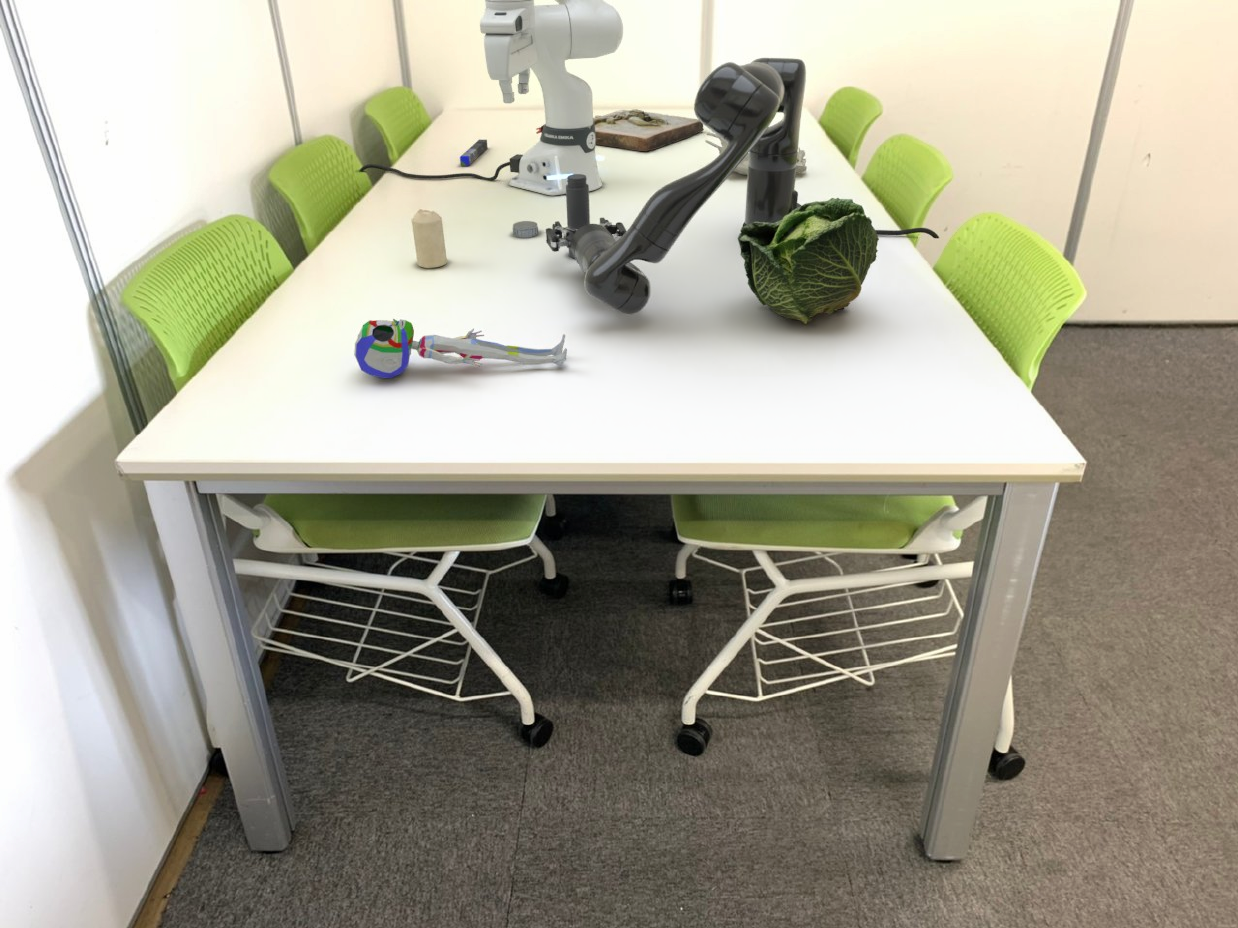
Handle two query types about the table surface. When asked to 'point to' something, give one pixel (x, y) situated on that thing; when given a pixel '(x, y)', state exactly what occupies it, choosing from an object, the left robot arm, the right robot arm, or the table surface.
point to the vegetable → (810, 258)
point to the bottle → (577, 202)
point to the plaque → (643, 129)
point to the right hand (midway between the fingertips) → (579, 224)
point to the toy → (435, 349)
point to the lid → (525, 229)
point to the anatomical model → (743, 165)
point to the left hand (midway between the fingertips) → (516, 98)
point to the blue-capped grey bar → (473, 152)
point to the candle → (429, 239)
